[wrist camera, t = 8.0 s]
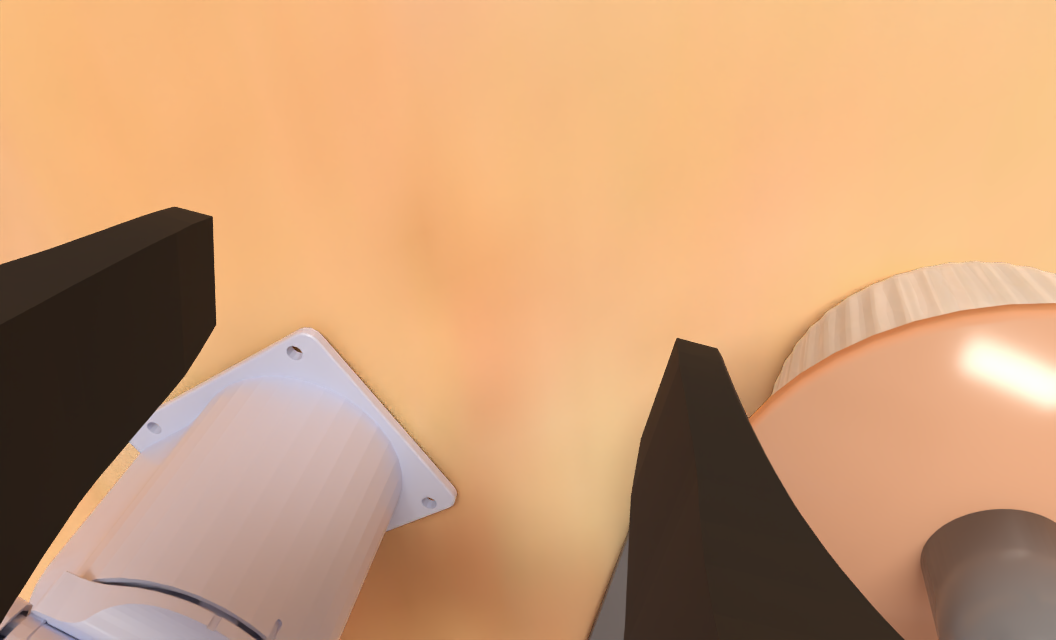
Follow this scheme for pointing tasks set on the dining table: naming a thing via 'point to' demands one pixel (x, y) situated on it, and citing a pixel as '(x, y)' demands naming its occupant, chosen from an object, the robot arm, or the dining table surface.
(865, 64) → the dining table surface
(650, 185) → the dining table surface
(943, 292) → the ramekin
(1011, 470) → the lid
